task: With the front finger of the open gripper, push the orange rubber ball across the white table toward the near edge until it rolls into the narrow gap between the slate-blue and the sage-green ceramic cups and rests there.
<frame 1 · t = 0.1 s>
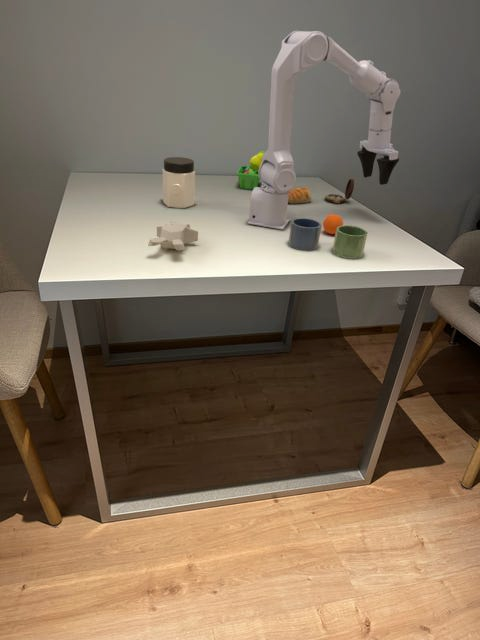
hand: (375, 180, 130), 10 cm above the table, tool pointing down, fingers open, 7 cm apart
compass: (337, 202, 146), on the table
jar: (178, 204, 133), on the table
fruit basket: (251, 186, 155), on the table
white toy turtle: (174, 248, 105), on the table
sage cup: (347, 252, 110), on the table
slate cup: (303, 245, 112), on the table
pastry: (296, 201, 144), on the table
ball: (333, 224, 119), point 2 cm above the table
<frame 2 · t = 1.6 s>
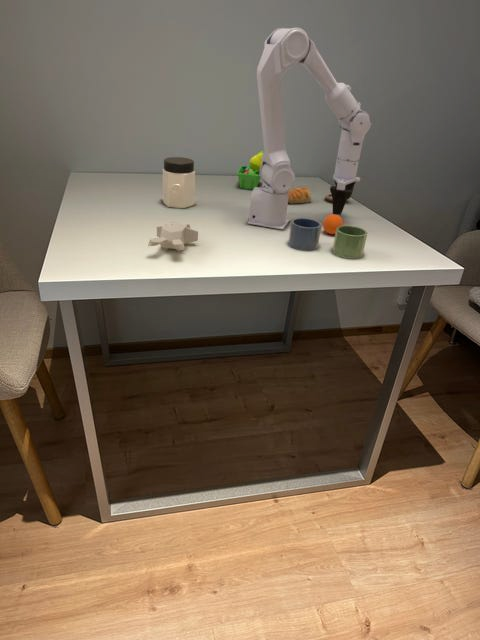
hand: (338, 210, 128), 3 cm above the table, tool pointing down, fingers open, 7 cm apart
nothing on the table moved.
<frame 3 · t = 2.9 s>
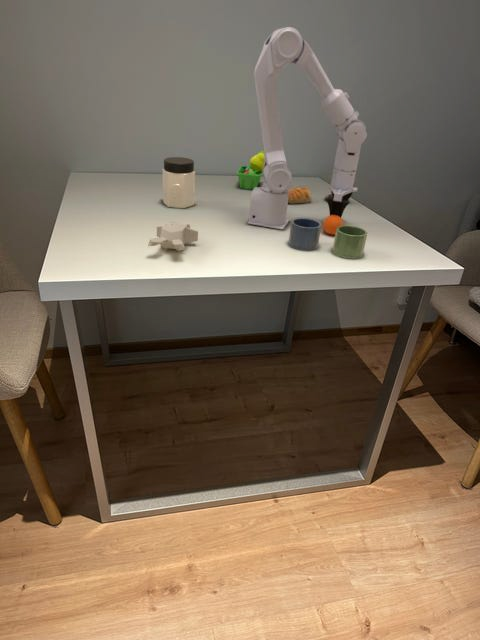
hand: (335, 220, 125), 1 cm above the table, tool pointing down, fingers open, 6 cm apart
ball: (333, 224, 119), point 2 cm above the table, touching gripper
everything else where it was.
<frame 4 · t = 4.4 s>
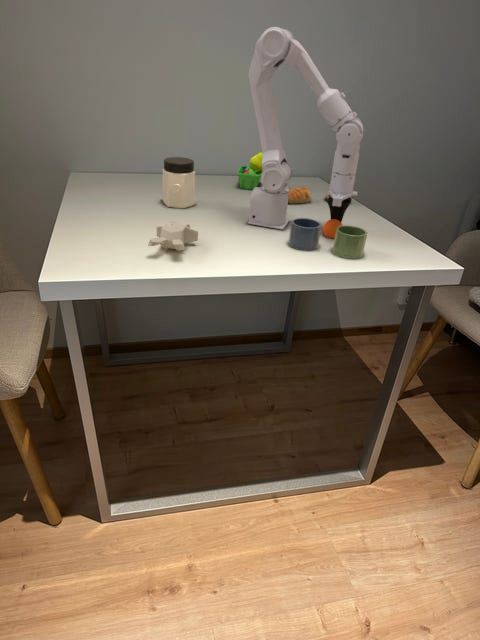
hand: (335, 226, 120), 2 cm above the table, tool pointing down, fingers closed, pressing on ball
ball: (333, 229, 118), point 2 cm above the table, tilted 38°, touching gripper
everything else where it was.
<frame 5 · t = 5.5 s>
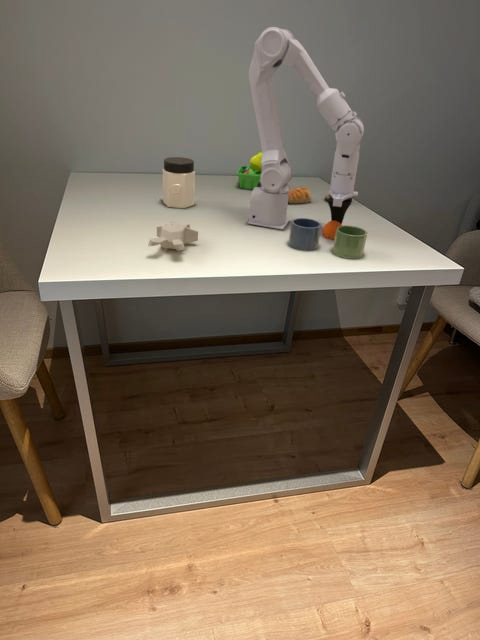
hand: (336, 226, 119), 2 cm above the table, tool pointing down, fingers closed, pressing on ball
ball: (333, 230, 118), point 2 cm above the table, tilted 52°, touching gripper
everything else where it was.
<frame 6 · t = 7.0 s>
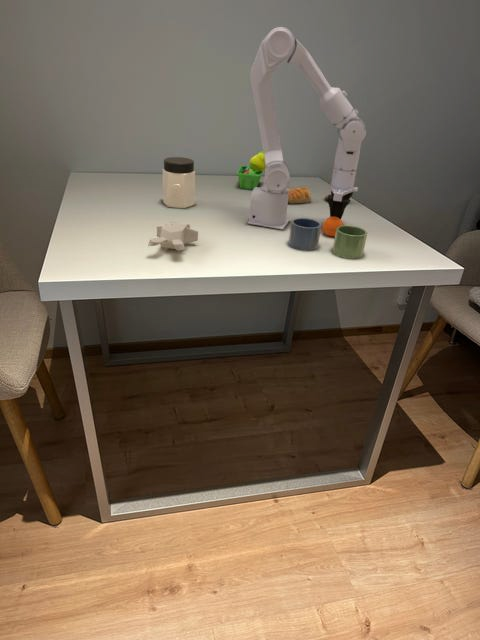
hand: (335, 221, 123), 2 cm above the table, tool pointing down, fingers open, 5 cm apart
ball: (332, 226, 118), point 2 cm above the table, tilted 28°, touching gripper
everything else where it was.
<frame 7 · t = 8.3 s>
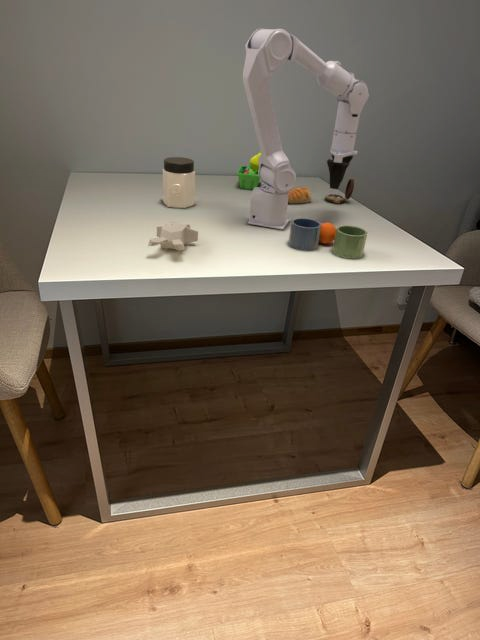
hand: (335, 185, 126), 9 cm above the table, tool pointing down, fingers open, 7 cm apart
ball: (326, 233, 113), point 2 cm above the table, tilted 173°
everything else where it was.
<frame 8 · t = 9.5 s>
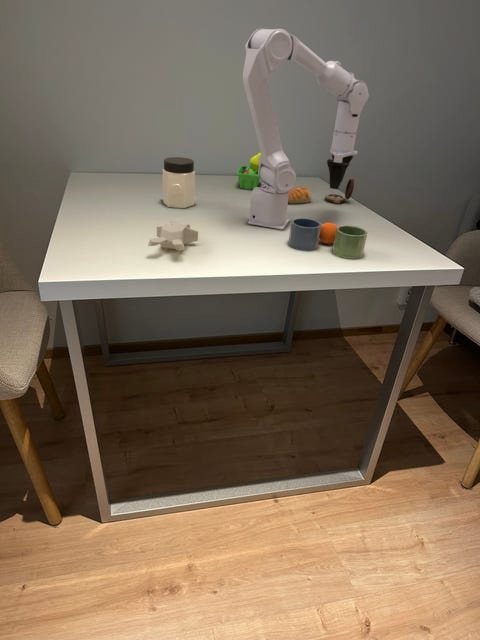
hand: (335, 185, 126), 9 cm above the table, tool pointing down, fingers open, 7 cm apart
ball: (328, 233, 113), point 2 cm above the table, tilted 164°
everything else where it was.
at the end: ball 1.3 cm from the target spot, point 2.5 cm above the table; slate cup moved 0.0 cm from its start; sage cup moved 0.0 cm from its start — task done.
